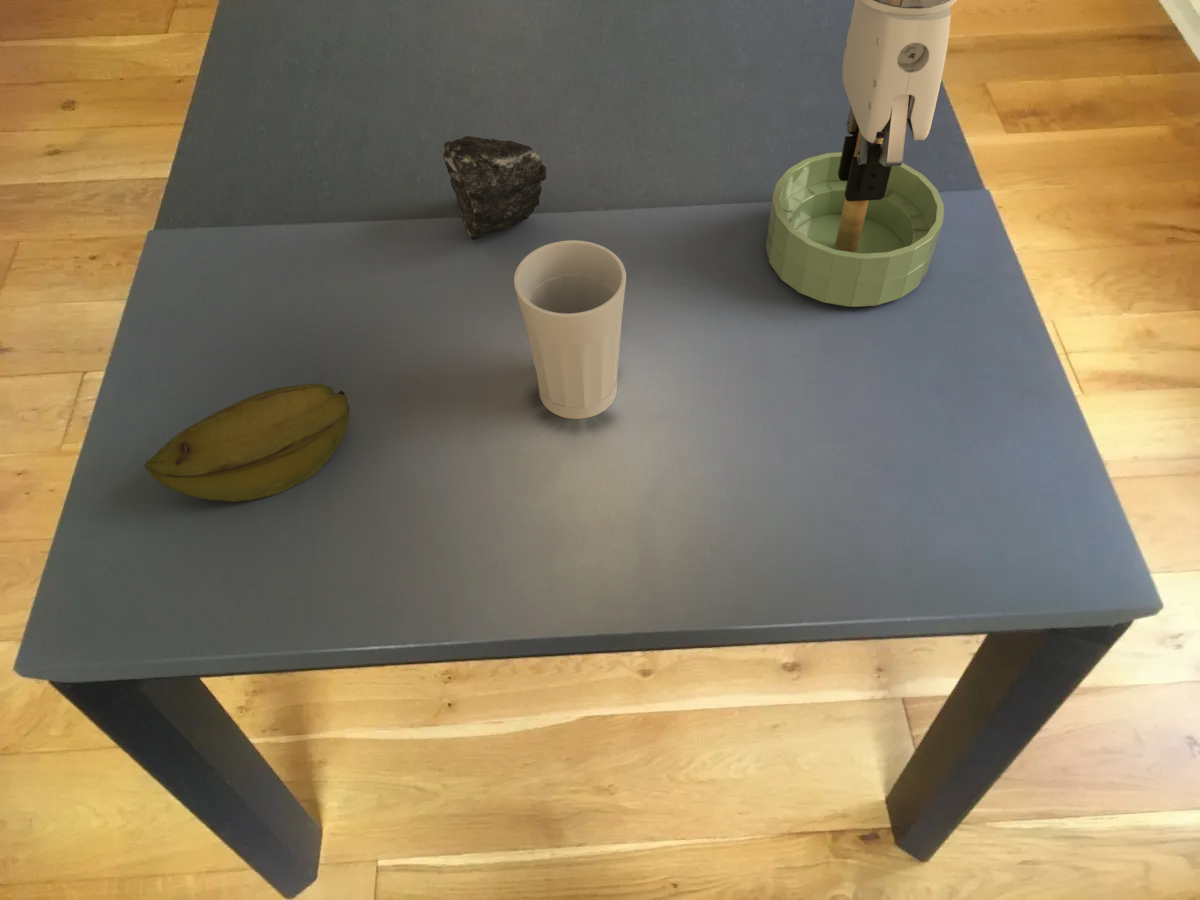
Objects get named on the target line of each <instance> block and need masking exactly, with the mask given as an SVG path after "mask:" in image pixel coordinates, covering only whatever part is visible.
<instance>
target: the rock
mask: <svg viewBox="0 0 1200 900" xmlns="http://www.w3.org/2000/svg"><path fill="white" fill-rule="evenodd" d="M443 148H444V152H443V156H442V159H443V161H444V164H445V167H446V169H447V173H448V175H449V176H450V179H449V180H450V186H451V189H452V190H453V192H454V193H455V196H456V204H457V205H456V207H457V211H458V214H459V217H460V218H461V219H462V222H463V223H464V226H465V230H466V232H467V234H468V236H469V238H470V240H471V241H475V240H476V239H480V238H481V237H482V236H483V235H485V234H487V233H489V232H494V231H495V232H496V231H502V230H508V229H511V228H512V227H513V226H514V225H515V224H518V223H521V222H523V221H526V220H528V219H529V217H530V216H531V215H532V214H533V213H534V212H535V210H536V207H538V206H539V205H540V196H541V194H542V186H543V184H544V181H545V180H546V179H547V167H546V165H545V163H544V162H543V161H542V159H541V157H540V155H539V154H538V153H537V152H535V151H534V150H533V148H532V147H530V146H529V145H526V144H522V143H518V142H515V141H513V140H500V139H495V138H482V137H479V136H468V135H465V136H463V137H462V138H456V139H454V140H452V141H451V140H449V141H446V142H444V143H443Z"/></svg>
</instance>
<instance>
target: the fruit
mask: <svg viewBox="0 0 1200 900" xmlns="http://www.w3.org/2000/svg"><path fill="white" fill-rule="evenodd" d="M348 403H349V402H348V397H347V396H346V394H345V392H344V391H343V390H340V391H338V392H337V393H335V391H334V389H333V388H332V387H331V386H328V385H325V384H321V383H305V384H296V385H288V386H281V387H276V388H272V389H269V390H265V391H262V392H260V393H256V394H255V395H251V396H249V397H246V398H243V399H242V400H239V401H237V402H235V403H233V404H231V405H229V406H226V407H224V408H222V409H220V410H218V411H216V412H213V413H212V414H210V415H208V416H206V417H205V418H204V419H201V420H199V421H198V422H196V423H194V424H193V425H191V426H188V427H187V428H185V430H182V431H181V432H179V433H178V434H177V435H175V436H173V438H171V439H170V440H168V442H167V443H166V444H164V445H163V446H162V447H161V448H160V449H159V450H158V451H157V452H156V453H155V454H154V455H153V456H152V457H151V458H149V459H147V461H146V462H145V463H144V465H143V467H144V468H145V469H146V470H147V472H148V473H149V474H150V475H151V477H152V478H153V479H154V480H155V481H156V482H158V483H159V484H160V485H162V486H163V487H166V488H169V489H170V490H173V491H176V492H178V493H180V494H183V495H186V496H189V497H195V498H197V499H202V500H209V501H218V502H227V503H230V502H231V503H238V502H247V501H253V500H259V499H264V498H267V497H272V496H274V495H277V494H281V493H283V492H285V491H287V490H290V489H291V488H294V487H296V486H298V485H300V484H301V483H303V482H305V481H306V480H309V478H311V477H312V476H314V475H315V474H316V473H318V471H320V470H321V468H322V467H323V466H324V465H325V464H326V463H327V462H328V460H330V459H331V457H332V456H333V454H334V453H335V452H336V450H337V448H338V447H339V446H340V444H341V442H342V440H343V438H344V435H345V433H346V432H347V429H348V427H349V419H350V405H349V404H348Z"/></svg>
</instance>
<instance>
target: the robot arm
mask: <svg viewBox="0 0 1200 900" xmlns="http://www.w3.org/2000/svg"><path fill="white" fill-rule="evenodd" d="M956 2H958V0H855V1H854V5H853V9H852V13H851V18H850V21H849V25H848V26H849V27H848V31H847V37H846V42H845V47H844V48H845V49H844V52H843V53H844V54H843V61H842V70H841V71H842V72H841V74H842V75H841V77H842V83H843V87H844V90H845V93H846V96H847V100H848V102H849V105H850V107H849V111H848V116H847V120H846V121H847V122H846V133H847V136H844V141H843V147H842V151H841V152H842V156H841V161H840V166H839V171H838V176H839V179H840V180H842V181H847V185H846V190H845V198H846V200H847V201H867V200H881V199H882V198H883V197H884V196H885V192H886V188H887V184H888V180H889V176H890V172H891V168H892V166H901V165H902V163H904V152H905V144H906V135H907V134H906V133H907V127H908V129H909V130H910V133H911V136H912V137H913V140H914V141H919V142H922V141H923V142H924V141H925V140H926V139H927V137H928V136H929V134H930V131H931V127H932V124H933V119H934V115H935V112H936V111H935V110H936V106H937V101H938V97H939V94H940V93H939V92H940V88H941V84H942V80H943V79H942V78H943V73H944V69H945V63H946V57H947V52H948V45H949V40H950V39H949V38H950V30H951V21H952V18H951V17H952V10H951V7H953V6H954V4H956ZM859 129H860V132H861V139H860V144H859V148H858V153H857V157H854V152H855V147H856V143H857V138H858V133H859ZM878 138H883V143H881V144H873V145H871V143H874V141H875V140H877V139H878Z"/></svg>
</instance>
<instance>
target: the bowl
mask: <svg viewBox="0 0 1200 900" xmlns="http://www.w3.org/2000/svg"><path fill="white" fill-rule="evenodd" d="M841 156H842V151H839V152H827V153H823V154H819V155H815V156H811V157H807V158H805V159H803V160H801V161H799V162H798V163H796V164H795V165H793V166H791V167H789V168H788V169H787V170H786V171H785V172H784V173H783V175H782V176H781V177H779V179H778V180H777V182H776V183H775V187H774V190H773V195H772V197H771V204H770V214H769V221H768V228H767V234H766V241H765V242H766V243H765V249H766V255H767V258H768V262H769V265H770V266H771V268H772V269H773V271H775V273H776V274H777V276H778V277H779V278H780V280H781V282H784V283H785V284H787V285H788V286H789V287H791V288H792V289H794V290H795V291H796V292H798V293H799V294H801V295H804V296H806V297H809V298H812V299H814V300H816V301H819V302H821V303H825V304H829V305H830V304H831V305H837V306H843V307H849V308H850V307H851V308H853V307H854V308H856V307H857V308H858V307H876V306H879V305H882V304H886V303H889V302H893V301H897V300H900V299H901V298H903V297H905V296H907V294H909V293H911V292H912V291H913V290H915V289H916V288H918V286H919V285H920V283H921V282H922V281H923V279H924V277H925V276H926V275H927V273H928V271H929V269H930V265H931V262H932V258H933V256H934V252H935V249H936V246H937V242H938V240H939V236H940V233H941V230H942V226H943V224H944V214H945V205H944V202H943V200H942V198H941V195H940V193H939V191H938V189H937V187H936V186H935V185H933V183H932V182H931V181H930V180H929V179H928V178H927V177H926V176H925V175H924V174H923V173H921V172H919V171H917V170H916V169H914V168H912V167H911V166H910V165H907V164H906V163H905V162H902V165H901V166H892V168H891V172H890V176H889V180H888V184H887V188H886V192H885V196H884V197H883V198H882V199H881V200H869V202H868V207H867V211H866V215H865V220H864V224H863V228H862V232H861V237H860V241H859V245H858V249H857V251H856V252H855V253H853V252H847V251H840V250H836V248H835V243H836V238H837V233H838V229H839V224H840V219H841V214H842V209H843V205H844V200H845V190H846V185H847V181H842V180H840V179H839V176H838V171H839V166H840V161H841Z"/></svg>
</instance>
